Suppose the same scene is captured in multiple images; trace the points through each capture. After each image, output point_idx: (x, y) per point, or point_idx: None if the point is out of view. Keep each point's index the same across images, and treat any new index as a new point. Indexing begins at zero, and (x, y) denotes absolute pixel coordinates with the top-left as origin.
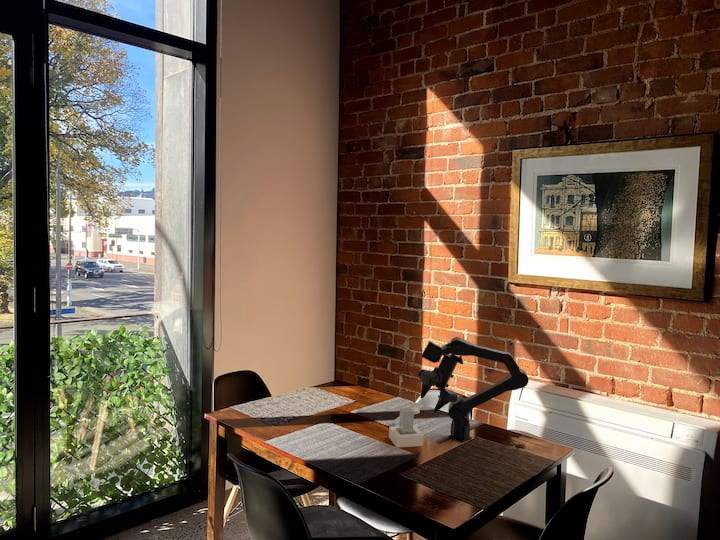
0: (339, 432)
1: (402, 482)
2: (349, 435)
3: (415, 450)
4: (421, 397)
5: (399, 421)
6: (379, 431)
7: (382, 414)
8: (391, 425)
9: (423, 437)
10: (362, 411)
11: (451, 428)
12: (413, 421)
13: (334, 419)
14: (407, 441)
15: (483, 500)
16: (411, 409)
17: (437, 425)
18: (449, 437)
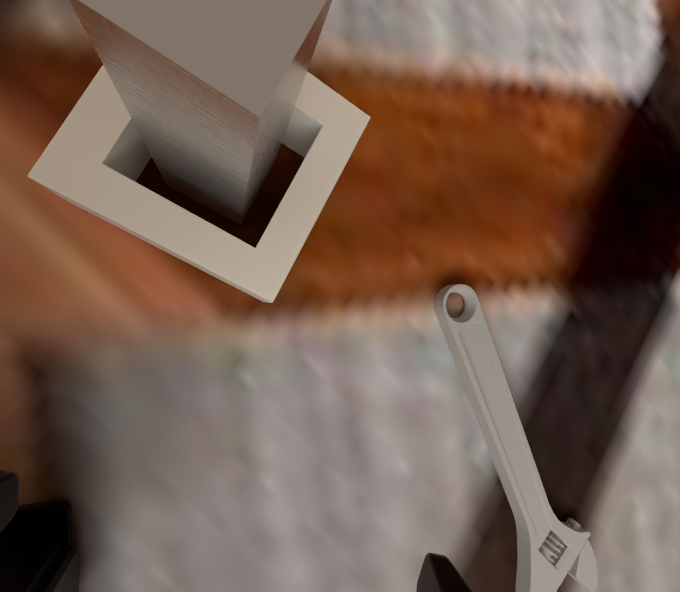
0: (540, 12)
1: None
2: (486, 12)
3: (42, 89)
4: (428, 567)
5: (470, 374)
6: (441, 184)
7: (600, 392)
8: (453, 285)
9: (39, 183)
10: (669, 332)
11: (38, 585)
12: (122, 100)
13: (660, 139)
14: None
15: None
16: (173, 47)
17: (306, 583)
18: (51, 501)
